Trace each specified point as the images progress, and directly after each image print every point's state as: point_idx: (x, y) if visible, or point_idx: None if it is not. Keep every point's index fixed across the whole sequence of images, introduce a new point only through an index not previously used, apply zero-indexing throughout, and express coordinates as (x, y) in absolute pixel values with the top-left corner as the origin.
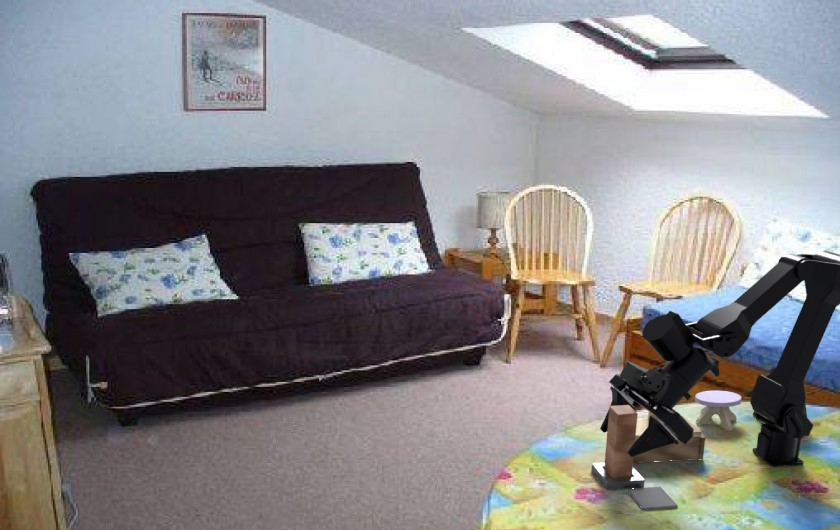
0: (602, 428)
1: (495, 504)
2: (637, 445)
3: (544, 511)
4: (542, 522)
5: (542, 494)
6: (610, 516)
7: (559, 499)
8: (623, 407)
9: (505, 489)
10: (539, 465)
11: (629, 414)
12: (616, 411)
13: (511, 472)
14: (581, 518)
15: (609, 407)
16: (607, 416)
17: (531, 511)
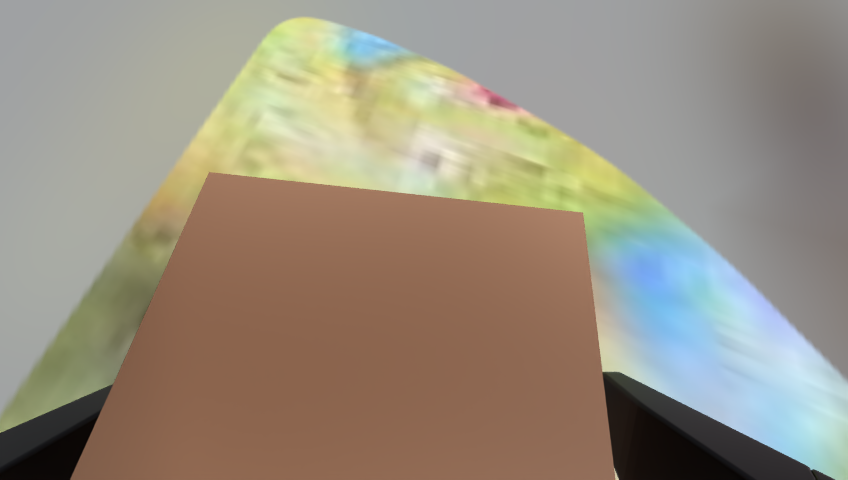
0: (603, 381)
1: (359, 33)
2: (20, 425)
3: (278, 109)
4: (230, 86)
5: (368, 138)
6: (146, 270)
7: (323, 168)
8: (487, 465)
9: (424, 71)
10: (558, 201)
11: (115, 410)
12: (332, 209)
13: (518, 113)
14: (191, 179)
15: (570, 229)
16: (712, 433)
17: (293, 83)
